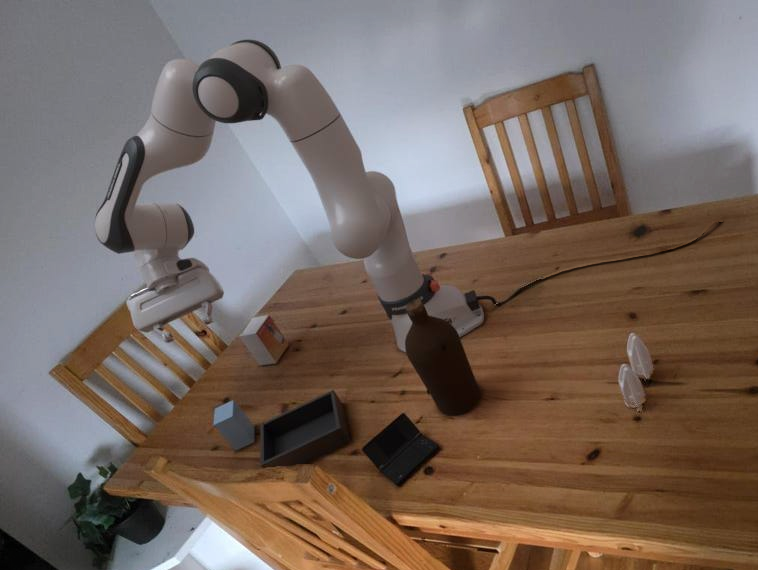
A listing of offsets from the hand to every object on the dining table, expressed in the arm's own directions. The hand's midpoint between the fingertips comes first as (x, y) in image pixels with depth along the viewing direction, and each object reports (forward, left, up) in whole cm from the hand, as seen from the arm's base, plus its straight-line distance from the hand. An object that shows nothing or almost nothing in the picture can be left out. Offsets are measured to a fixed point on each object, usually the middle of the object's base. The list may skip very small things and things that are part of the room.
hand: (189, 332), depth 133 cm
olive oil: (-48, +33, -24) cm, 63 cm away
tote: (-15, +24, -23) cm, 37 cm away
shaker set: (-79, +53, -24) cm, 98 cm away
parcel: (0, +13, -23) cm, 27 cm away
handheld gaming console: (-34, +42, -24) cm, 59 cm away
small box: (-8, -17, -24) cm, 30 cm away
